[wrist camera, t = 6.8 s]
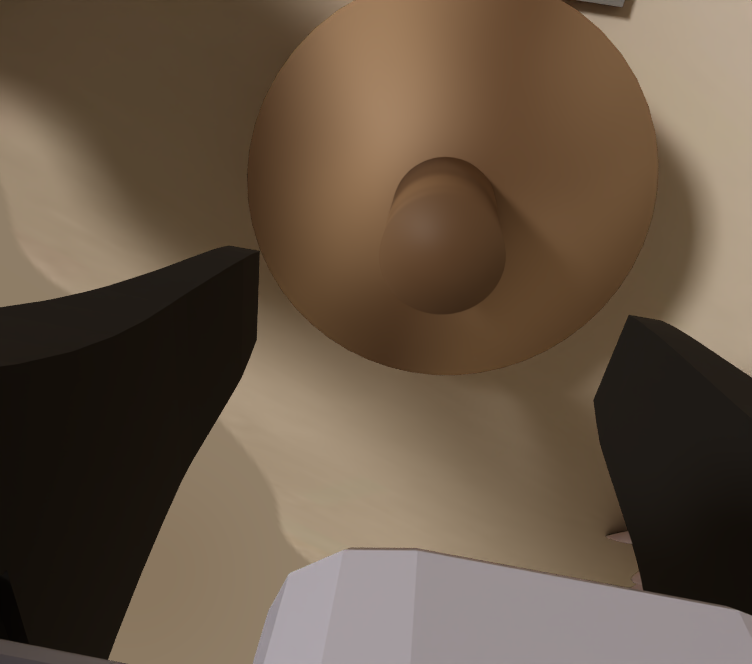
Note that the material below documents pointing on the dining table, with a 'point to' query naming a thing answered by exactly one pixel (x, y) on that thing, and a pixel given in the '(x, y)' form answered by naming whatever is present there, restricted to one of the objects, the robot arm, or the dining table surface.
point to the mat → (607, 2)
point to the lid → (452, 179)
